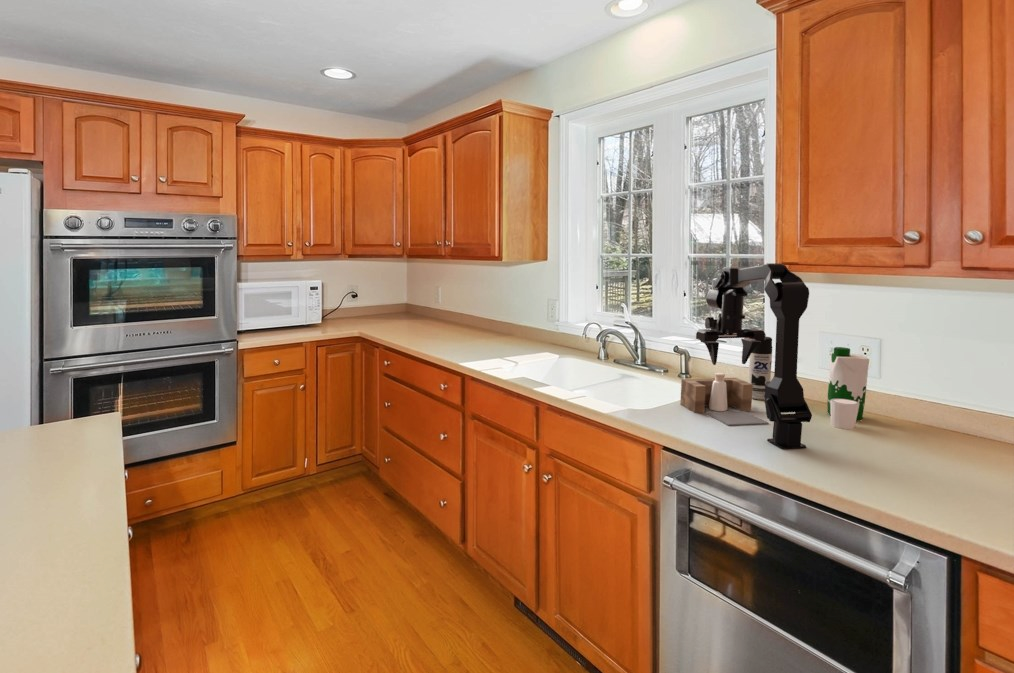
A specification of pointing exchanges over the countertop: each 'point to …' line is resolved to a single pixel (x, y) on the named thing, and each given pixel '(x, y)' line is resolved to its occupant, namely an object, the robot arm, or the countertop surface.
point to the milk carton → (848, 378)
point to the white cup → (843, 413)
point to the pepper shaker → (718, 394)
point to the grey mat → (737, 418)
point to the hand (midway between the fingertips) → (728, 364)
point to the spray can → (760, 368)
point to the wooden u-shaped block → (699, 393)
